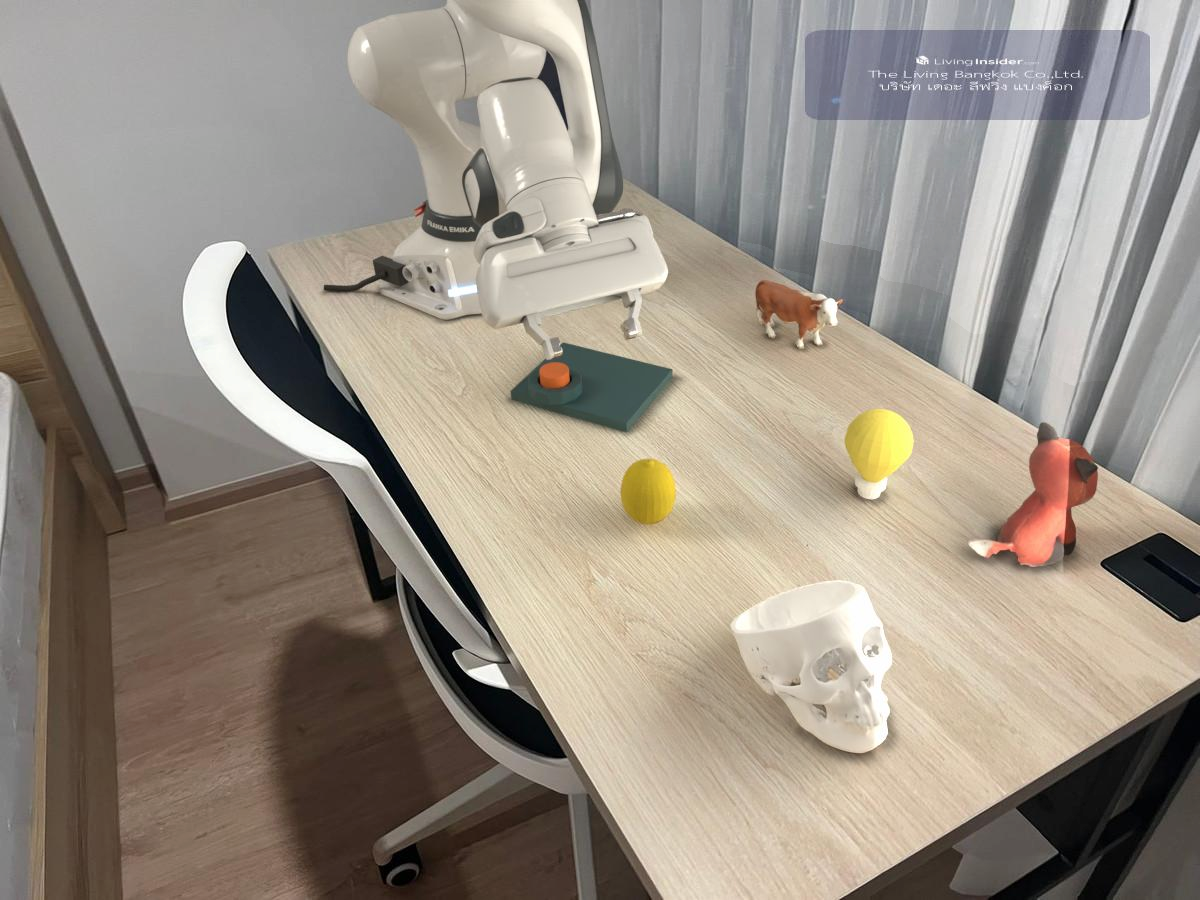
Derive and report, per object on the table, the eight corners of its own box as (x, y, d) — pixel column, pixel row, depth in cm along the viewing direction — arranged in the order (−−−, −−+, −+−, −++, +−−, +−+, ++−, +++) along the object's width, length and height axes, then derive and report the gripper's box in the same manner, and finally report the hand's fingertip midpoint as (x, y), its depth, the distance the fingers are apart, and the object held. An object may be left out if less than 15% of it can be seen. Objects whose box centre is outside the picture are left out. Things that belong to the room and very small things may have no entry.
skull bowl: (844, 790, 66) (798, 638, 65) (739, 735, 79) (698, 607, 77) (945, 724, 70) (904, 580, 69) (830, 682, 83) (793, 560, 81)
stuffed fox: (944, 539, 89) (970, 442, 82) (1032, 508, 93) (1065, 412, 85) (998, 589, 84) (1031, 490, 76) (1090, 554, 87) (1130, 456, 80)
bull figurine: (825, 365, 116) (833, 309, 111) (746, 328, 124) (750, 274, 119) (846, 353, 118) (854, 297, 113) (766, 317, 126) (771, 264, 121)
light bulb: (824, 482, 97) (835, 406, 91) (875, 466, 99) (890, 389, 93) (862, 520, 92) (876, 441, 86) (915, 501, 94) (933, 423, 88)
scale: (508, 403, 111) (505, 382, 109) (563, 351, 121) (562, 331, 119) (623, 436, 105) (623, 415, 103) (672, 378, 114) (672, 358, 112)
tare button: (534, 385, 109) (533, 373, 108) (549, 371, 112) (548, 359, 111) (560, 392, 108) (559, 380, 107) (575, 378, 110) (574, 366, 109)
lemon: (671, 543, 90) (672, 481, 85) (616, 537, 91) (615, 475, 86) (678, 507, 94) (680, 446, 90) (626, 502, 95) (625, 441, 91)
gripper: (634, 217, 101) (673, 333, 99) (459, 254, 94) (498, 378, 93) (652, 192, 95) (694, 314, 93) (466, 230, 88) (508, 361, 87)
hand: (595, 347), depth 93 cm, fingers open, 8 cm apart
